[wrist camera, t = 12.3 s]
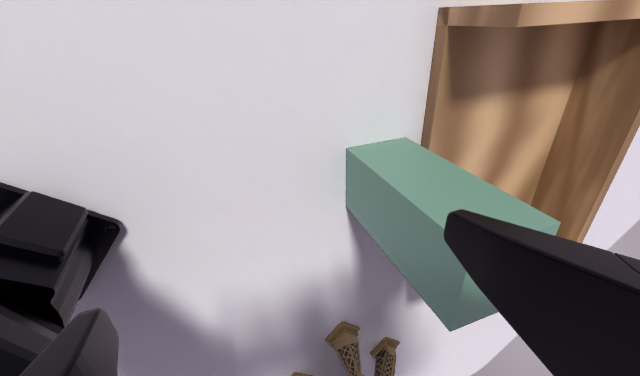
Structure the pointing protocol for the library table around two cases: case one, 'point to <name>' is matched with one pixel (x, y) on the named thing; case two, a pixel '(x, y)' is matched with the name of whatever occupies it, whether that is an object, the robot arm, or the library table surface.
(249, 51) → the library table surface
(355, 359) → the eiffel tower
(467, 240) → the robot arm
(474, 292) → the green block
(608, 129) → the oak crate
